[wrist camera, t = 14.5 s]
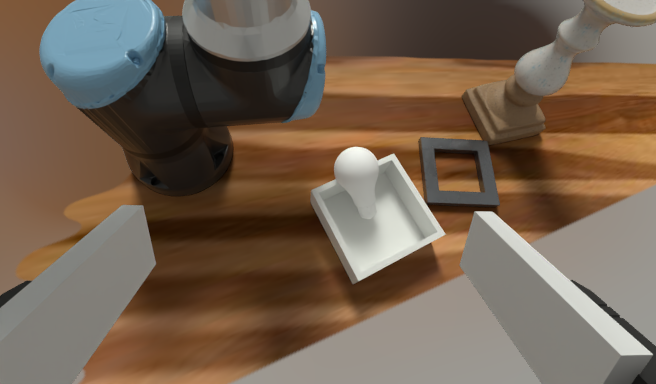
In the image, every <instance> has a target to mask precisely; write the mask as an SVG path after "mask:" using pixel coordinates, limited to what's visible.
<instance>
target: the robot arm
mask: <svg viewBox="0 0 656 384" xmlns="http://www.w3.org/2000/svg"><path fill="white" fill-rule="evenodd" d="M40 59H41V64H42V67H43V69H44V71H45V73H46V74H47V76H48V77H49V78H50V80H52V82H53V83H54V84H55V85H56V86H57V87H58V88H59V89H60V90H61V91H62V92H63V93H64V95H65V97H66V98H67V100H68V101H69V102H71V103H72V104H73V105H75V106H76V107H77V108H78V109H79V110H80V111H82V112H83V113H84V114H85V115H86V116H87V117H88V118H89V119H91V120H92V121H93V122H94V123H95V124H96V125H97V126H99V127H100V128H101V129H102V130H103V131H104V132H106V133H107V134H108V135H109V136H110V137H111V138H112V139H114V140H115V141H116V142H117V143H118V144H120V145H121V147H122V148H123V151H124V154H125V157H126V160H127V163H128V165H129V167H130V169H131V171H132V173H133V174H134V175H135V176H136V178H137V179H138V180H140V181H141V182H142V183H143V184H144V185H146V186H147V187H148V188H150V189H151V190H153V191H155V192H158V193H160V194H164V195H169V196H185V195H190V194H194V193H197V192H200V191H202V190H204V189H206V188H208V187H210V186H211V185H213V184H214V183H215V182H216V181H218V180H219V179H220V178H221V177H222V175H223V174H224V173H225V171H226V170H227V168H228V166H229V164H230V162H231V159H232V155H233V142H232V138H231V135H230V133H229V130H228V128H227V126H236V125H250V124H265V123H279V122H281V123H287V122H290V121H291V120H298V119H305V118H308V117H310V116H312V115H313V114H314V113H315V112H316V111H317V109H318V107H319V105H320V102H321V99H322V95H323V90H324V84H325V70H324V67H325V64H326V40H325V31H324V26H323V22H322V19H321V17H320V15H319V14H318V13H317V12H315V11H312V10H311V8H310V4H309V1H308V0H185V2H184V6H183V12H182V16H163V14H162V11H160V9H159V8H158V7H157V6H156V5H155V4H154V3H153V2H152V1H151V0H76V1H74V2H72V3H71V4H69V5H68V6H67V7H66V8H65V9H64V10H62V11H61V12H59V13H58V14H57V15H56V16H55V17H54V18H53V19H52V21H51V22H50V23H49V25H48V26H47V28H46V30H45V32H44V34H43V37H42V40H41V45H40ZM155 265H156V261H155V257H154V252H153V248H152V243H151V239H150V234H149V230H148V225H147V221H146V216H145V212H144V207H143V205H122V206H120V207H119V208H118V209H117V210H116V211H115V212H113V213H112V214H111V215H110V216H109V217H107V218H106V219H105V220H104V221H103V222H101V223H100V224H99V225H98V226H97V227H96V228H94V229H93V230H92V231H91V232H90V233H88V234H87V235H86V236H85V237H84V238H83V239H81V240H80V241H79V242H78V243H77V244H75V245H74V246H73V247H72V248H71V249H70V250H68V251H67V252H66V253H65V254H64V255H62V256H61V257H60V258H59V259H58V260H57V261H55V262H54V263H53V264H52V265H51V266H49V267H48V268H47V269H46V270H45V271H44V272H42V273H41V274H40V275H39V276H38V277H36V278H35V279H34V280H33V281H25V282H24V283H22V284H20V285H18V286H16V287H15V288H12V289H11V290H9V291H7V292H5V293H4V294H2V295H1V296H0V384H72V383H73V382H74V380H75V379H76V377H77V376H78V374H79V373H80V372H81V370H82V369H83V367H84V366H85V365H86V363H87V362H88V360H89V359H90V357H91V356H92V355H93V353H94V352H95V350H96V349H97V347H98V346H99V345H100V343H101V342H102V340H103V339H104V338H105V336H106V335H107V333H108V332H109V330H110V329H111V328H112V326H113V325H114V323H115V322H116V320H117V319H118V318H119V316H120V315H121V313H122V312H123V311H124V309H125V308H126V306H127V305H128V303H129V302H130V301H131V299H132V298H133V296H134V295H135V293H136V292H137V291H138V289H139V288H140V286H141V285H142V283H143V282H144V281H145V279H146V278H147V276H148V275H149V274H150V272H151V271H152V269H153V268H154V266H155ZM460 267H461V268H462V270H463V271H464V273H465V274H466V275H467V276H468V278H469V280H470V281H471V283H472V284H473V286H474V287H475V288H476V290H477V291H478V293H479V294H480V295H481V297H482V299H483V300H484V301H485V303H486V304H487V306H488V307H489V309H490V310H491V311H492V313H493V314H494V316H495V317H496V319H497V320H498V322H499V323H500V324H501V326H502V327H503V329H504V330H505V332H506V333H507V335H508V336H509V337H510V339H511V340H512V342H513V343H514V345H515V346H516V347H517V349H518V350H519V352H520V353H521V355H522V356H523V357H524V359H525V360H526V362H527V363H528V365H529V366H530V368H531V369H532V370H533V372H534V373H535V375H536V376H537V378H538V379H539V380H540V382H541V383H542V384H656V346H655V345H654V344H652V343H651V342H650V341H649V340H648V339H647V338H645V337H644V336H643V335H642V334H641V333H640V332H638V331H637V330H636V329H635V328H634V327H633V326H631V325H630V324H629V323H628V322H627V321H625V319H623V318H620V315H618V313H616V312H615V311H614V310H613V309H612V308H610V307H607V304H606V303H605V302H603V301H602V300H601V299H600V298H599V297H598V296H597V295H595V294H594V293H593V292H592V291H590V290H589V289H587V288H585V287H584V286H582V285H580V284H578V283H577V282H575V281H573V280H569V279H568V278H566V277H565V276H564V275H563V274H562V273H561V272H560V271H559V270H558V269H556V268H555V267H554V266H553V265H552V264H550V262H548V261H547V260H546V259H545V258H544V257H543V256H542V255H541V254H540V253H538V252H537V251H536V250H535V249H534V248H533V247H532V246H531V245H529V244H528V243H527V242H526V241H525V240H524V239H523V238H522V237H520V236H519V235H518V234H517V233H516V232H515V231H514V230H513V229H511V228H510V227H509V226H508V225H507V224H506V223H505V222H504V221H502V220H501V219H500V218H499V217H498V216H497V215H496V214H495V213H493V212H485V211H475V212H474V215H473V219H472V223H471V226H470V230H469V233H468V237H467V241H466V244H465V248H464V251H463V255H462V258H461V262H460Z"/></svg>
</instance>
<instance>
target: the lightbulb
mask: <svg viewBox="0 0 656 384" xmlns="http://www.w3.org/2000/svg"><path fill="white" fill-rule="evenodd" d="M378 173H379V165H378V161H377V159H376V157H375V156H374V155H373V153H371V152H370V151H369V150H367V149H365V148H362V147H352V148H348V149H346V150H345V151H343V152H342V153H341V154H340V155H339V156H338V158H337V159H336V162H335V165H334V174H335V177H336V179H337V181H338V183H339V184H340V185H341V186H342V187H343V188H344V189H345V190H346V191H347V192H348V193H349V194H350V195H351V197H352V199H353V201H354V204H355V206H357V208H358V212H359V214H360V216H361V217H362V218H365V219H371V218H372V217H373V216H375V215H376V213H377V211H376V205H375V200H376V198H375V184H376V181H377V177H378Z"/></svg>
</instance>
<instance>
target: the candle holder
mask: <svg viewBox="0 0 656 384" xmlns="http://www.w3.org/2000/svg"><path fill="white" fill-rule="evenodd" d="M583 1H584V7H583V9H582V11H581V12H580V13H579V14H578V15H577V16H575V17H573V18H571V19H567V20H565V21H563V22H562V23H561V24H560V25H559V27H558V33H557V38H556V40H555V42H553V43H551V44H549V45H547V46H544V47H541V48H538V49H535V50H533V51H531V52H528V53H527V54H525V55H524V56H523V57H522V58H521V59H520V60H519V61H518V62H517V64H516V66H515V70H514V75H512V76H510V77H509V78H508V79H507V80H504V81H498V82H493V83H489V84H484V85H481V86H478V87H474V88H470V89H467V90H466V91H465V92H464V94H463V95H462V99H463V101H464V104H465V106H466V108H467V110H468V112H469V114H470V116H471V118H472V120H473V122H474V124H475V126H476V128H477V130H478V132H479V134H480V136H481V137H482V139H483V141H487V142H488V145H494V144H499V143H503V142H508V141H512V140H517V139H522V138H526V137H531V136H534V135H537V134H539V133H540V132H541V131H543V130H544V129H545V126H544V124H543V123H544V122H545V117H544V115H543V113H542V111H541V109H540V107H539V105H538V103H539V102H540V101H541V100H542V98H543V96H546V95H551V94H553V93H555V92H557V91H558V90H560V89H561V88H562V87H563V85H564V84H565V83H566V81H567V79H568V76H569V73H570V68H571V64H572V61H573V58H574V57H575V55H577V54H579V53H582V52H585V51H589V50H592V49H593V48H595V47H596V46H597V45H598V43H599V38H600V35H601V33H602V31H603V30H604V29H605V28H606V27H608V26H609V25H611V24H615V23H618V24H621V25H626V26H633V27H640V26H647V25H651V24H653V23H655V22H656V0H583Z"/></svg>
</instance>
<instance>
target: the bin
mask: <svg viewBox="0 0 656 384" xmlns="http://www.w3.org/2000/svg"><path fill="white" fill-rule="evenodd" d="M378 165H379V173H378V177H377V181H376V184H375V198H376V200H375V205H376V211H377V213H376V215H375V216H373V217H372V218H371V219H365V218H362V217H361V216H360V214H359V212H358V208H357V206H355V204H354V201H353V199H352V197H351V195H350V194H349V193H348V192H347V191H346V190H345V189H344V188H343V187H342V186H341V185H340V184H339V183H338V181H337V179H335V180H333V181H331V182H328V183H326V184H324V185H322V186H320V187H317V188H315V189H313V190H311V199H310V203H311V204H312V206H313V208H314V210H315V212H316V214H317V216H318V218H319V220H320V222H321V224H322V226H323V228H324V230H325V232H326V234H327V236H328V237H329V239H330V241H331V243H332V245H333V247H334V249H335V251H336V253H337V255H338V257H339V259H340V261H341V263H342V265H343V267H344V269H345V270H346V272H347V274H348V276H349V278H350V280H351V282H352V284H355V283H357V282H359V281H360V280H362V279H364V278H366V277H368V276H370V275H372V274H373V273H375V272H377V271H379V270H381V269H383V268H385V267H386V266H388V265H390V264H392V263H394V262H396V261H398V260H399V259H401V258H403V257H405V256H407V255H409V254H411V253H412V252H414V251H416V250H418V249H420V248H422V247H423V246H425V245H427V244H429V243H431V242H433V241H435V240H436V239H438V238H440V237H442V236H444V235H445V233H444V231H443V230H442V228H441V226H440V225H439V223H438V222H437V220H436V219H435V217H434V216H433V214H432V212H431V211H430V209H429V208H428V206H427V205H426V203H425V202H424V200H423V198H422V197H421V195H420V194H419V192H418V191H417V189H416V187H415V186H414V184H413V183H412V181H411V180H410V178H409V177H408V175H407V173H406V172H405V170H404V169H403V167H402V166H401V164H400V163H399V161H398V159H397V158H396V156H395V155H394V154H391V155H389V156H387V157H385V158H382V159H380V160H378Z"/></svg>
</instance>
